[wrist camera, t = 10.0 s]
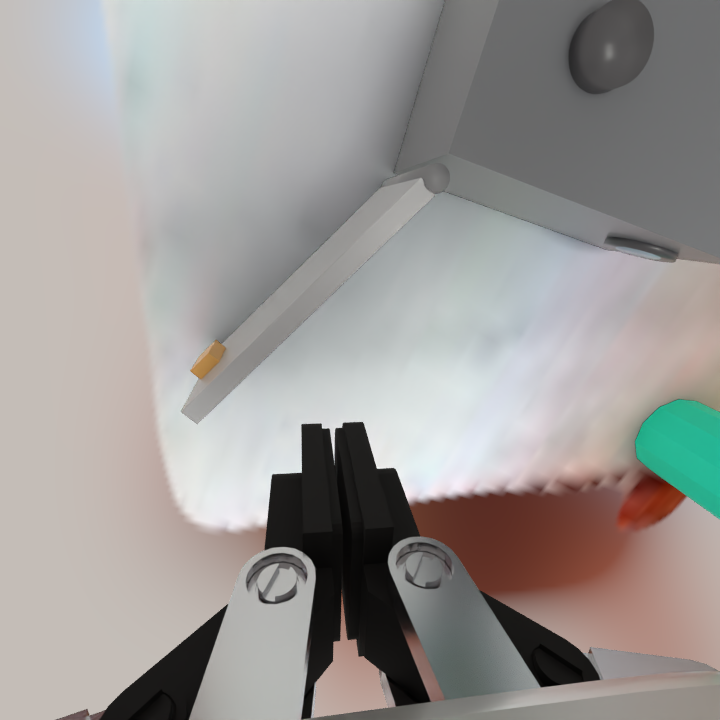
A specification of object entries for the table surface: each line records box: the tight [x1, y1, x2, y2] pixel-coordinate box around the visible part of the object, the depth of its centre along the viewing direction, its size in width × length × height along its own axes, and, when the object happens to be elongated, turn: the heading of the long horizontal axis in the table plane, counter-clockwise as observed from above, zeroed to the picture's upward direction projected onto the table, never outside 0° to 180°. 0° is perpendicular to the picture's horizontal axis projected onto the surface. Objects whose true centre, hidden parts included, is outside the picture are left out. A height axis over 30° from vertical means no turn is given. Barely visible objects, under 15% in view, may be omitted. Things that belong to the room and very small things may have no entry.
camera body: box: [394, 0, 720, 264], centre depth 18 cm, size 14×9×9 cm, turn 73°
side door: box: [181, 163, 450, 424], centre depth 19 cm, size 14×2×7 cm, turn 133°
